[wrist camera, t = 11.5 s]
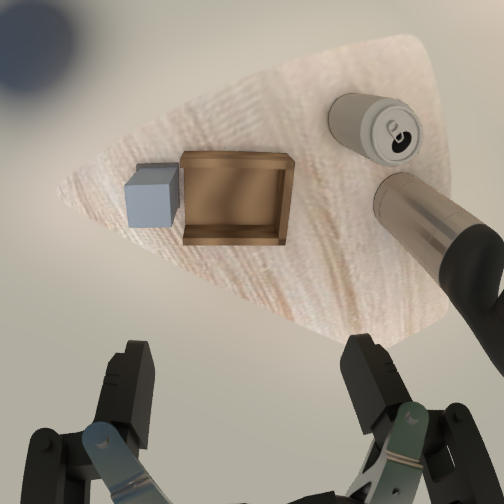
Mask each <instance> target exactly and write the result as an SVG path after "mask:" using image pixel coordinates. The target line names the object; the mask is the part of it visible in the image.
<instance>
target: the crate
mask: <svg viewBox="0 0 504 504" xmlns="http://www.w3.org/2000/svg"><path fill="white" fill-rule="evenodd" d="M294 167H295V161H294V160H293V159H292V158H291V157H290V156H289V155H288V154H287V153H270V152H244V151H184V153H183V154H182V156H181V158H180V168H184V194H185V222H186V225H185V230H184V235H183V245H285V244H286V236H287V228H288V220H289V212H290V203H291V194H292V185H293V176H294Z"/></svg>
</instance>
